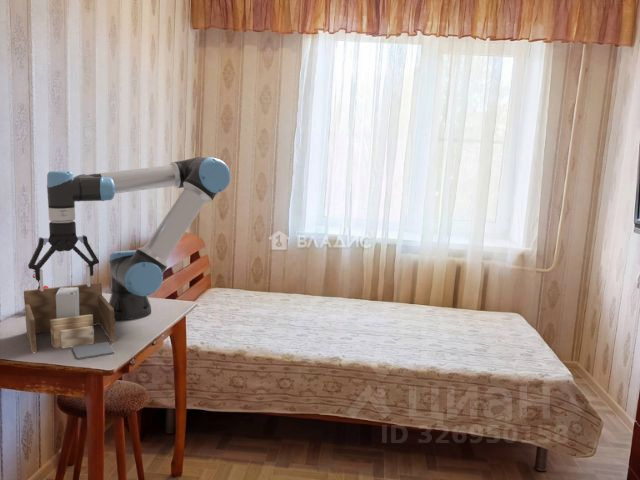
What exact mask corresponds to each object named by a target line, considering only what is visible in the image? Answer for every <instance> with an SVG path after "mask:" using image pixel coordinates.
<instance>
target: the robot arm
mask: <svg viewBox="0 0 640 480" xmlns="http://www.w3.org/2000/svg"><path fill="white" fill-rule="evenodd" d="M230 182H231V172H230V168H229V166H228V165H227V164H226V163H225V162H224V161H223V160H222V159H219V158H216V157H213V156H212V157H211V156H210V157H202V156H197V157H192V158H189V159H184V160H178V161H171V162H170V164H169V165H161V166H160V165H159V166H152V167H151V166H150V167H143V168H142V167H141V168H134V169H133V168H132V169H126V170H117V171H108V172H99V173H90V174H84V173H83V174H78V175H76V176H75V175H74V172H73V171H71V170H51V171H49V172H48V173H47V174H46V192H47V205H48V207H47V208H48V209H47V210H48V220H49V221H50V222H49V223H48V225H49V226H48V227H49V228H48V229H49V237H48V238H47V237H39V238H38V241H37V242H38V244H37V246H36V248H35V250H34V252H33V255H32V256H31V258H30V261H29V263H28V264H27V266H28V268H29V269H30V270H33V271H35V272H34V274H35V275H34V276H35V278H34V279H35V280H36V281H37V282H38V280H40V281H39V283H40V290H41V291H44V289H43V286H44V275H43V274H44V273H43V269H42V267H43V266H44V265H45V263H47V261H48V260H49V259H50V258H51V257H52V256H53V254H54V253H56V252H59V253H60V252H70V251H71V250H73V251H74V252H75V253H76V254H77V255H78V256H79V257H80V258H81V259H82V260H83V261H84V262H86V264H85V277H86V279H85V280H86V283H85V284H87V286H88V287H90V284H91V277H93V276H94V266H95V265H98V264H100V260H99V258H98V257H97V255H96V253H95V252H94V251H93V249H92V247H91V245H90V243H89V241H88V236H86V235H85V234H82V235H81V236H78V235H77V225H76V223H77V222H76V221H75V220H76V209H75V207H76V204H75V203H76V202H105V201H112V200H113V199H114V197H115V195H116V194H122V193H130V192H132V193H133V192H138V191H139V192H140V191H145V190H152V189H153V190H154V189H161V188H168V187H173V188H175V189H180V188H181V189H182V188H183V191H182V192H181V193H180V195H179V196H178V198H177V199H176V200H175V202H174V203H173V205H172V206H171V208H170V209H169V211H168V212H167V214H166V215H165V216H164V217H163V219H162V221H161V222H160V224H159V225H158V227H157V228H156V229H155V231H154V233H152V234H151V237H150V238H149V240H148V241H147V243H146V244H145V245H144V246H142V247H141V246H140V247H138V248H136V249H134V250H133V249H132V250H130V249H129V250H120V251H114V252H111V253H110V254H109V261H108V262H109V273H110V274H109V275H110V292H111V294H110V298H109V301H108V303H109V304H110V305H111V306H112V308H113V309H114V320H122V321H123V320H124V321H125V320H133V319H134V320H137V319H140V318H144V317H147V316H150V315H151V314H152V306H151V303H150V300H149V298H148V296H151V295H152V294H155V293H156V292H157V291H158V290H159V289H160V288H161V286H162V284H163V282H164V273H165V271H166V270H167V268H168V263H167V261H168V259H169V257H170V255H172V253H173V251H174V250H175V248H176V247H177V245H178V244H179V242H180V241H181V240H182V238H183V237H184V236H185V234H186V232H187V230H188V229H189V228H190V226H191V224H192V223H193V222H194V220H195V219H196V217H197V216H198V214H199V213H200V212H201V210H202V209H203V207H204V205H205V204H207V203H211V202H212V203H213V200H214V198H215V197H216V196H217V194H218V193H221V192H223V191H225V190H226V189H227V188H228V186H229V185H230ZM78 241H79V242H80V243H81V244H83V245H84V247H85V249H86V250H87V252H88V254H89V255H90V257H91V259H92V260H90V259H89V258H88V257H87V256H86V255H85V254H84V253H83V251H81V249H79V248H78V247H77V246H76V244H77V243H78ZM47 243H49V244H50V245H51V246H50V247H49V249H48V250H47V251H46V252H45V254H44V255H43V256H42V257H41V259H39V261H38V258H39V256H40V254H41V252H42V250H43V248H44V246H46V244H47ZM37 261H38V262H37ZM36 262H37V263H36Z"/></svg>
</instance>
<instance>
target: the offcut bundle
mask: <svg viewBox="0 0 640 480" xmlns="http://www.w3.org/2000/svg"><path fill="white" fill-rule="evenodd" d="M50 328H51V331H50V340H51V343H50V344H51V347H54V348H55V347H56V348H61V347H62V348H61V349H64V348H63V347H67V348H71V347H70V346H74V347H78V345H80V346H84V345H86V344H87V345H91V344H92V343H93V344H95V343H94V341H95V332H94V331H95V330H94V325H93V315H92V314H90V315H83V316H75V317H67V318H59V319H51V320H50ZM60 346H61V347H60Z"/></svg>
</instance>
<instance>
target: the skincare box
mask: <svg viewBox="0 0 640 480" xmlns="http://www.w3.org/2000/svg"><path fill="white" fill-rule="evenodd" d="M75 316H80V311H79V288H78V287H69V288H59V290H58V292H57V293H56V317H57V319H59V318H67V317H75Z"/></svg>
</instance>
